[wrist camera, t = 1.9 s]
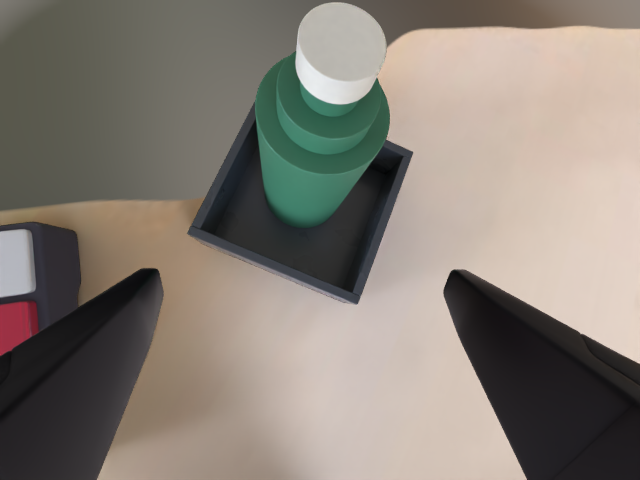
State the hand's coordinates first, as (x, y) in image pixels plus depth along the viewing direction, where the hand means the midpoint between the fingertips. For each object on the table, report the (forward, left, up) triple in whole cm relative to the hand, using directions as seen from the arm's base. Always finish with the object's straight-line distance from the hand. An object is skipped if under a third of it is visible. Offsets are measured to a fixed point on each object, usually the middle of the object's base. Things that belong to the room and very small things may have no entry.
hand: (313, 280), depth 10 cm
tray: (+6, +2, -14) cm, 15 cm away
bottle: (+7, +2, -14) cm, 16 cm away
